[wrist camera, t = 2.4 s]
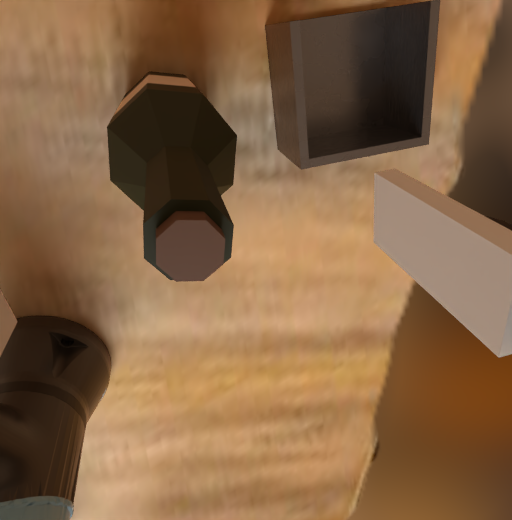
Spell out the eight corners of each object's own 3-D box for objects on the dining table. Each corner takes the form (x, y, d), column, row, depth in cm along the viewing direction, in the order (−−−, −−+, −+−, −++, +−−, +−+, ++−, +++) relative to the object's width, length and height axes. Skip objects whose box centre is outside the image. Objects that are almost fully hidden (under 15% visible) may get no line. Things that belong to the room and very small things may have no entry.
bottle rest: (277, 149, 44) (301, 169, 37) (265, 25, 38) (289, 21, 31) (386, 128, 45) (428, 144, 38) (390, 7, 40) (440, -1, 33)
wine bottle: (106, 86, 38) (0, 181, 12) (191, 56, 38) (273, 85, 12) (144, 170, 42) (128, 378, 16) (220, 143, 42) (327, 302, 16)
